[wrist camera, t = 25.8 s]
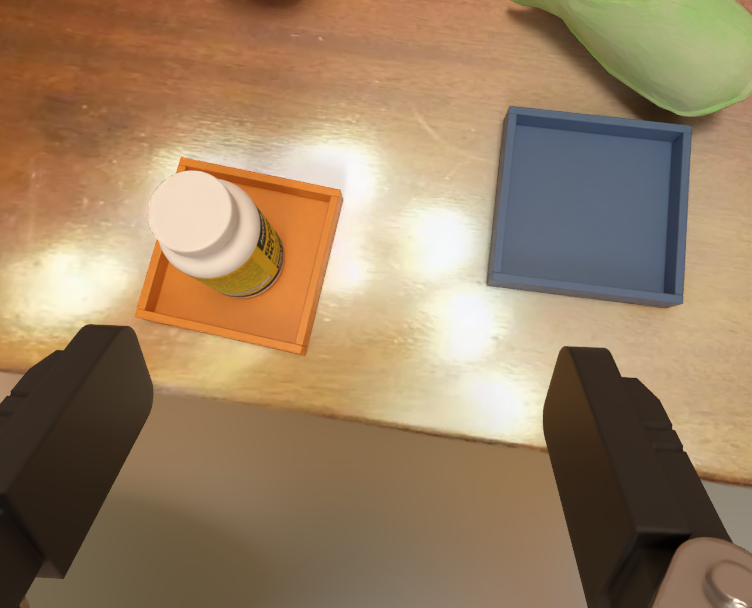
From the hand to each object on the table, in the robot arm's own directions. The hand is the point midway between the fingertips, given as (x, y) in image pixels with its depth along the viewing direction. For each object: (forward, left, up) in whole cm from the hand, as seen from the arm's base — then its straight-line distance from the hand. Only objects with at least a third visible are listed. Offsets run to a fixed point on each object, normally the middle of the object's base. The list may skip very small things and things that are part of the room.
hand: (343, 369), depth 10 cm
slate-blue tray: (+16, -12, -29) cm, 35 cm away
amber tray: (+7, +12, -29) cm, 32 cm away
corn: (+30, -12, -29) cm, 43 cm away
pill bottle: (+7, +12, -28) cm, 31 cm away
